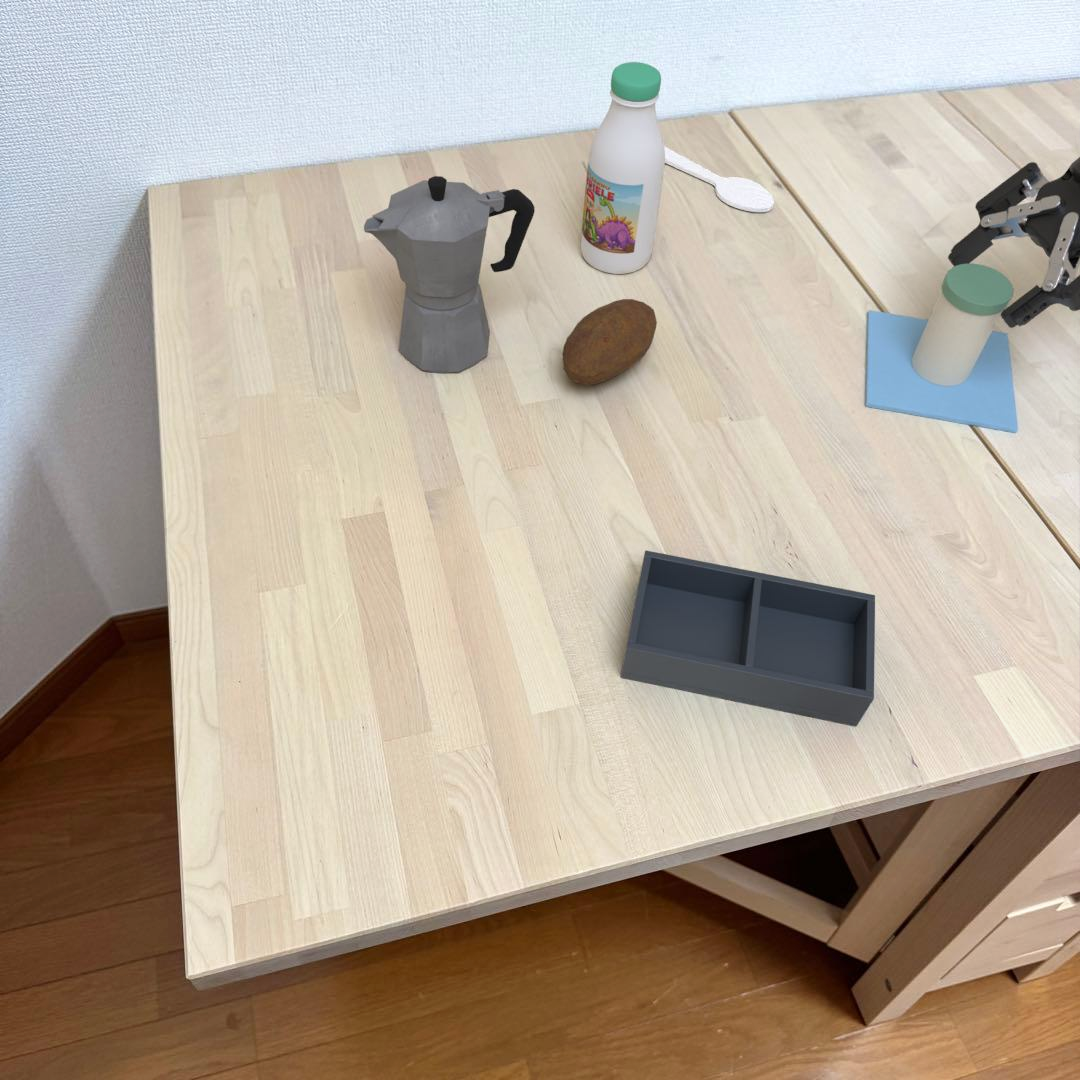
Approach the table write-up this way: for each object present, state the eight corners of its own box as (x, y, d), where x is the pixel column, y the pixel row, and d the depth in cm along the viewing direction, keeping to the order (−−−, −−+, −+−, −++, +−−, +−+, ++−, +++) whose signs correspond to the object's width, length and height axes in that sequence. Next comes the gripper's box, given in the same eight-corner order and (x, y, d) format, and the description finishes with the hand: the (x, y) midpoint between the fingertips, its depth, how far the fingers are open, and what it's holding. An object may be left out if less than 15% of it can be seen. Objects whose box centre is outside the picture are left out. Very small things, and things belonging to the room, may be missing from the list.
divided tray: (638, 581, 81) (645, 549, 78) (859, 625, 80) (875, 594, 76) (620, 677, 76) (626, 648, 72) (856, 727, 74) (874, 699, 71)
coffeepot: (391, 389, 94) (374, 224, 80) (367, 326, 99) (346, 161, 85) (545, 356, 97) (555, 192, 83) (513, 296, 103) (517, 133, 89)
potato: (541, 384, 95) (544, 327, 90) (610, 322, 101) (617, 265, 95) (599, 416, 93) (605, 360, 87) (666, 351, 99) (676, 295, 93)
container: (984, 374, 98) (1027, 291, 90) (941, 396, 95) (982, 313, 88) (939, 338, 101) (977, 255, 93) (896, 359, 98) (932, 276, 91)
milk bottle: (618, 223, 111) (639, 43, 95) (666, 258, 108) (696, 77, 92) (565, 249, 108) (578, 67, 92) (613, 285, 105) (634, 103, 89)
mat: (1005, 336, 102) (1007, 333, 102) (1016, 433, 94) (1018, 429, 93) (867, 313, 103) (868, 309, 103) (865, 406, 95) (866, 402, 95)
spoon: (660, 139, 122) (660, 135, 122) (783, 199, 115) (784, 195, 115) (632, 156, 119) (633, 152, 119) (757, 219, 112) (758, 215, 112)
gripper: (1211, 231, 83) (1036, 360, 90) (1103, 140, 91) (949, 264, 98) (1195, 183, 78) (1010, 324, 84) (1082, 91, 86) (921, 226, 92)
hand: (978, 292), depth 91 cm, fingers open, 8 cm apart
